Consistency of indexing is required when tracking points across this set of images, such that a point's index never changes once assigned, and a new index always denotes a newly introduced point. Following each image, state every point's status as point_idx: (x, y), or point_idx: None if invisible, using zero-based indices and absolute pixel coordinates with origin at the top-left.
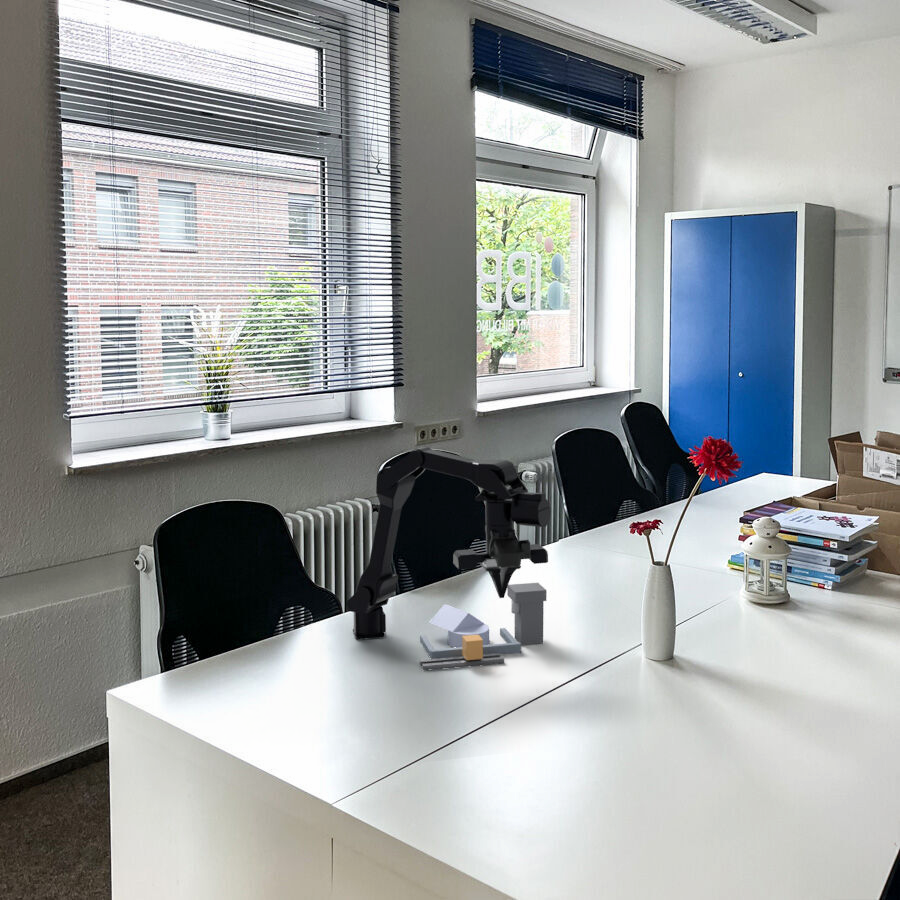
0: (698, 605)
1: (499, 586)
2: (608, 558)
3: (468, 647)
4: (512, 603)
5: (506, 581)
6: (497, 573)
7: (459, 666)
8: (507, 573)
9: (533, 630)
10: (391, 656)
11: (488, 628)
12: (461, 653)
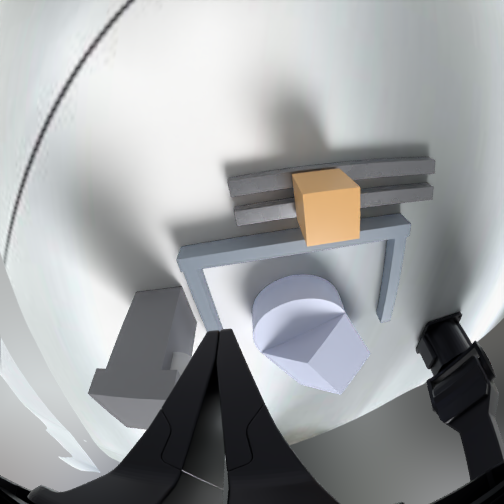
0: (9, 365)
1: (234, 388)
2: (123, 451)
3: (345, 180)
4: None
5: (174, 419)
6: (259, 493)
7: (352, 161)
8: (155, 481)
9: (147, 312)
10: (452, 245)
11: (255, 330)
12: None
